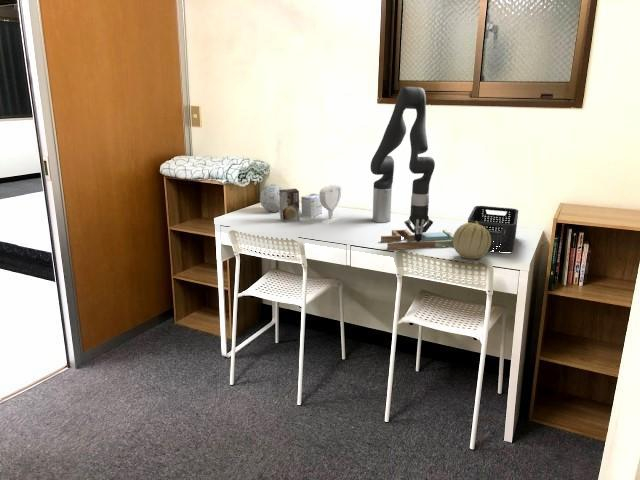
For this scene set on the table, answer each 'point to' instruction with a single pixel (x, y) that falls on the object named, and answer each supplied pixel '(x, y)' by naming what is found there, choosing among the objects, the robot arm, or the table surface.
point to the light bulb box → (311, 205)
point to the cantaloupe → (471, 240)
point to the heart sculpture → (330, 200)
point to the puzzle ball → (271, 198)
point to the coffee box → (289, 205)
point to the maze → (409, 245)
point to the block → (434, 236)
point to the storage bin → (497, 226)
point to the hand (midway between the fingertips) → (417, 241)
